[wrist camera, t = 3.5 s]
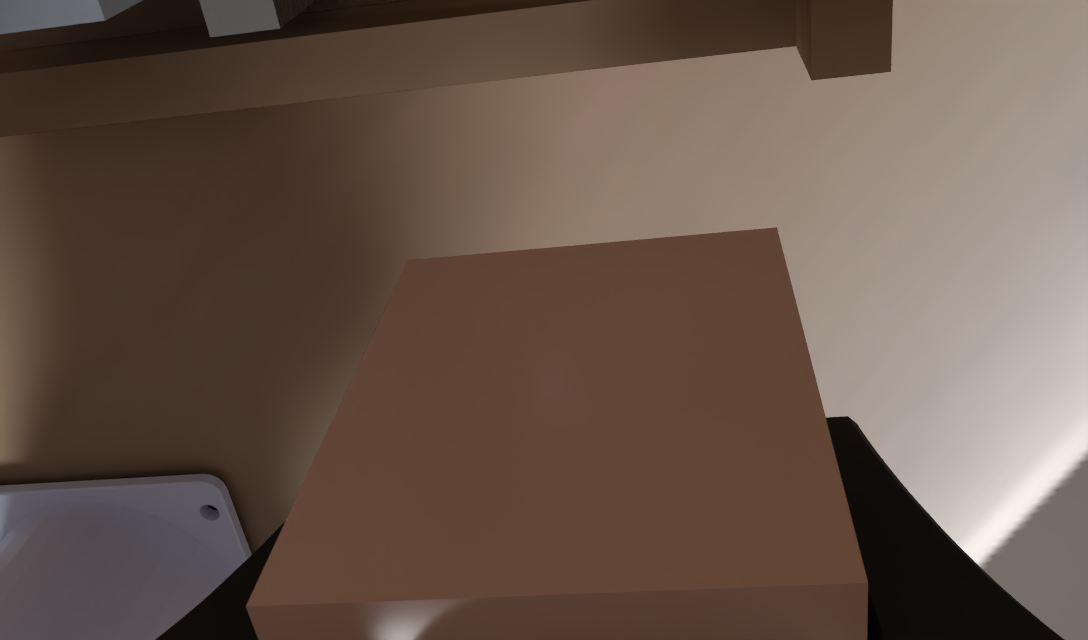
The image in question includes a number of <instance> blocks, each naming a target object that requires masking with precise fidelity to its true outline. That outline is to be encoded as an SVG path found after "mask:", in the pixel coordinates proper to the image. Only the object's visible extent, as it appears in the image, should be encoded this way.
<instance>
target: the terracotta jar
mask: <svg viewBox="0 0 1088 640" xmlns="http://www.w3.org/2000/svg"><path fill="white" fill-rule="evenodd" d="M246 609H247V611H248V614H249V616H250V619H251V622H252V624H253V627H254V629H255V632H256V635H257V637H258V640H867V621H868V580H867V576H866V573H865V569H864V565H863V561H862V557H861V553H860V549H859V545H858V541H857V538H856V534H855V530H854V526H853V522H852V518H851V514H850V510H849V506H848V503H847V499H846V495H845V491H844V487H843V483H842V479H841V475H840V471H839V468H838V464H837V460H836V456H835V452H834V448H833V444H832V440H831V436H830V433H829V429H828V425H827V421H826V417H825V413H824V409H823V405H822V401H821V398H820V394H819V390H818V386H817V382H816V378H815V374H814V370H813V366H812V363H811V359H810V355H809V351H808V347H807V343H806V339H805V335H804V331H803V328H802V324H801V320H800V316H799V312H798V308H797V304H796V300H795V296H794V293H793V289H792V285H791V281H790V277H789V273H788V269H787V265H786V261H785V258H784V254H783V250H782V246H781V242H780V238H779V234H778V230H777V228H766V229H755V230H744V231H732V232H721V233H710V234H699V235H687V236H676V237H665V238H654V239H642V240H631V241H620V242H609V243H598V244H586V245H575V246H564V247H553V248H541V249H530V250H519V251H508V252H497V253H485V254H474V255H463V256H452V257H440V258H429V259H418V260H408V261H407V263H406V265H405V267H404V269H403V272H402V274H401V276H400V278H399V280H398V282H397V284H396V287H395V289H394V291H393V293H392V295H391V297H390V299H389V302H388V304H387V306H386V308H385V310H384V312H383V314H382V316H381V319H380V321H379V323H378V325H377V327H376V329H375V331H374V334H373V336H372V338H371V340H370V342H369V344H368V346H367V349H366V351H365V353H364V355H363V357H362V359H361V361H360V363H359V366H358V368H357V370H356V372H355V374H354V376H353V378H352V381H351V383H350V385H349V387H348V389H347V391H346V393H345V396H344V398H343V400H342V402H341V404H340V406H339V408H338V410H337V413H336V415H335V417H334V419H333V421H332V423H331V425H330V428H329V430H328V432H327V434H326V436H325V438H324V440H323V443H322V445H321V447H320V449H319V451H318V453H317V455H316V457H315V460H314V462H313V464H312V466H311V468H310V470H309V472H308V475H307V477H306V479H305V481H304V483H303V485H302V487H301V490H300V492H299V494H298V496H297V498H296V500H295V502H294V504H293V507H292V509H291V511H290V513H289V515H288V517H287V519H286V522H285V524H284V526H283V528H282V530H281V532H280V534H279V537H278V539H277V541H276V543H275V545H274V547H273V549H272V551H271V554H270V556H269V558H268V560H267V562H266V564H265V566H264V569H263V571H262V573H261V575H260V577H259V579H258V581H257V584H256V586H255V588H254V590H253V592H252V594H251V596H250V598H249V601H248V603H247V605H246Z"/></svg>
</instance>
